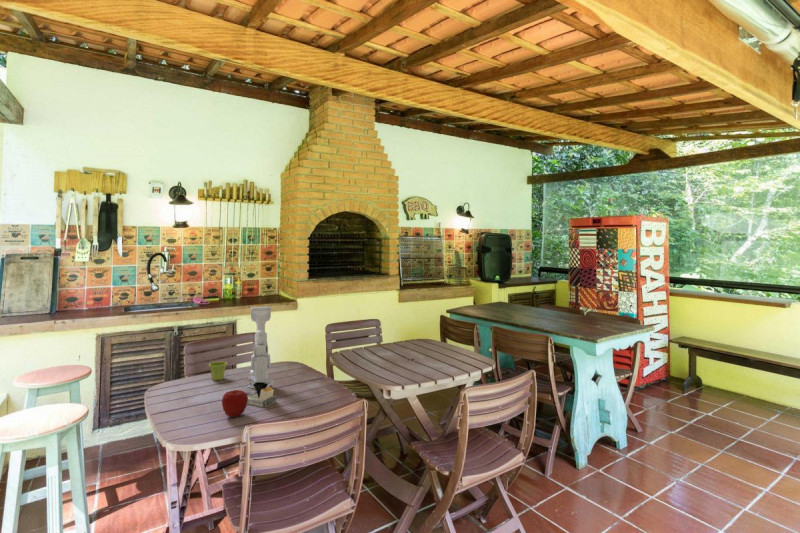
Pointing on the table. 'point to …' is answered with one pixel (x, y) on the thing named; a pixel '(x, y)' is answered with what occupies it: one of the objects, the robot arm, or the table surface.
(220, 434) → the table surface
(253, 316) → the robot arm
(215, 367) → the plant pot
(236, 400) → the apple
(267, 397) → the block
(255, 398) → the grey piece
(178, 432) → the table surface
